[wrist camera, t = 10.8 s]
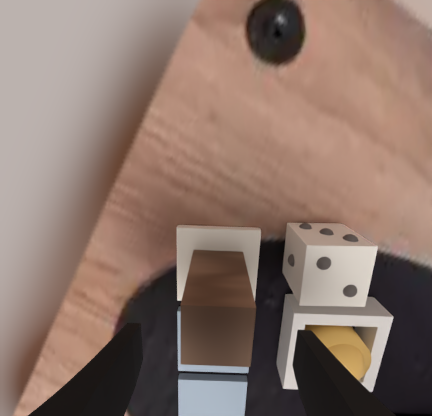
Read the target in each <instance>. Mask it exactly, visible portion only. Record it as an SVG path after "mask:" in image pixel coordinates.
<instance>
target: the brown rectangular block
mask: <svg viewBox="0 0 432 416" xmlns="http://www.w3.org/2000/svg"><path fill="white" fill-rule="evenodd" d="M255 315H256V305H255V301H254V296H253V292H252V288H251V283H250V279H249V275H248V271H247V266H246V262H245V258H244V254H243V252H239V251H215V250H193V254H192V258H191V263H190V267H189V271H188V275H187V280H186V284H185V288H184V292H183V297H182V301H181V364H182V365H208V366H234V367H250V365H251V355H252V345H253V335H254V325H255Z"/></svg>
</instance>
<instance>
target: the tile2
mask: <svg viewBox="0 0 432 416" xmlns="http://www.w3.org/2000/svg"><path fill="white" fill-rule="evenodd" d="M176 229H177V300H178V301H182V297H183V292H184V288H185V284H186V280H187V275H188V271H189V267H190V263H191V258H192V254H193V250H215V251H239V252H243V254H244V258H245V262H246V266H247V271H248V275H249V279H250V283H251V288H252V292H253V296H254V301H255V294H256V283H257V272H258V261H259V250H260V239H261V229H260V228H254V227H226V226H198V225H178V226H177V228H176Z"/></svg>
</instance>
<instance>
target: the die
mask: <svg viewBox="0 0 432 416" xmlns="http://www.w3.org/2000/svg"><path fill="white" fill-rule="evenodd" d="M377 249H378V246H376V245H375V244H373V243H372V242H370V241H369V240H367V239H366V238H364V237H362V236H361V235H359V234H358V233H356V232H355V231H353V230H351V229H350V228H348V227H347V226H345V225H344V224H342V223H287V228H286V239H285V249H284V259H283V269H282V272H283V274H284V276H285V278H286V280H287V282H288V284H289V286H290V288H291V290H292V292H293V294H294V296H295V298H296V300H297V302H298V304H299V306H349V307H365V305H366V300H367V295H368V291H369V286H370V282H371V277H372V272H373V268H374V263H375V258H376V254H377Z"/></svg>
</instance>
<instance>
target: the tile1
mask: <svg viewBox="0 0 432 416" xmlns="http://www.w3.org/2000/svg"><path fill="white" fill-rule="evenodd" d="M177 314H178V371H202V372H230V373H248V370H249V367H234V366H208V365H182V364H181V306H179V307H178V311H177Z"/></svg>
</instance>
